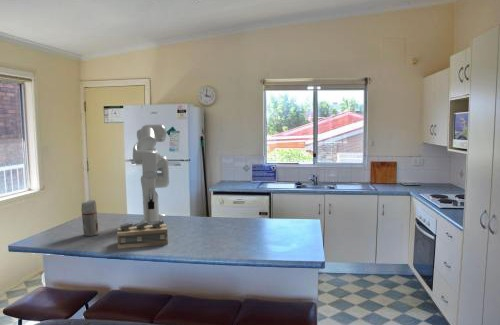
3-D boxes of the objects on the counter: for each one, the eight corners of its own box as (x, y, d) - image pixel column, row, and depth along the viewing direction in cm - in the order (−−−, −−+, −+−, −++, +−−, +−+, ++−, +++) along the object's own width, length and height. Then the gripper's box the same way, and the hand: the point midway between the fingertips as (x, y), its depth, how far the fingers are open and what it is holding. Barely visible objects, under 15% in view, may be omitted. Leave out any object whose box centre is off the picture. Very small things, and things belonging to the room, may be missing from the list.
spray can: (93, 237, 224) (91, 202, 222) (80, 236, 225) (78, 201, 223) (101, 233, 232) (100, 199, 230) (89, 232, 234) (87, 198, 232)
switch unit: (118, 241, 214) (117, 222, 213) (166, 237, 221) (165, 219, 220) (117, 249, 202) (116, 228, 201) (167, 244, 209) (167, 224, 208)
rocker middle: (137, 226, 212) (136, 224, 212) (148, 223, 214) (147, 220, 213) (137, 228, 208) (136, 226, 208) (148, 224, 210) (147, 222, 209)
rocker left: (121, 227, 210) (120, 224, 210) (132, 224, 212) (131, 221, 211) (120, 229, 206) (120, 226, 206) (132, 226, 208) (131, 223, 207)
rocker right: (152, 225, 215) (151, 222, 214) (163, 221, 216) (162, 219, 216) (152, 227, 211) (151, 224, 210) (163, 223, 212) (163, 220, 212)
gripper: (142, 173, 216) (144, 206, 218) (142, 176, 201) (143, 212, 203) (156, 172, 218) (158, 205, 219) (157, 176, 203) (158, 211, 205)
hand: (151, 208), depth 211 cm, fingers closed
